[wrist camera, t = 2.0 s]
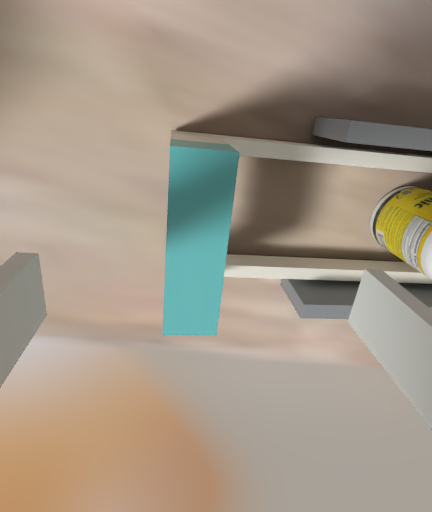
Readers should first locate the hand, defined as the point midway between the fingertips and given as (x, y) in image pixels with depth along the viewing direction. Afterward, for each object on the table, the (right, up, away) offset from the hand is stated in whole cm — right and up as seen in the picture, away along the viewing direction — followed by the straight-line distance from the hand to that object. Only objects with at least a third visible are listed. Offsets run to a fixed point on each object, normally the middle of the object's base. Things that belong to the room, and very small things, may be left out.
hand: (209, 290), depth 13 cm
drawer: (+9, +5, +12) cm, 16 cm away
